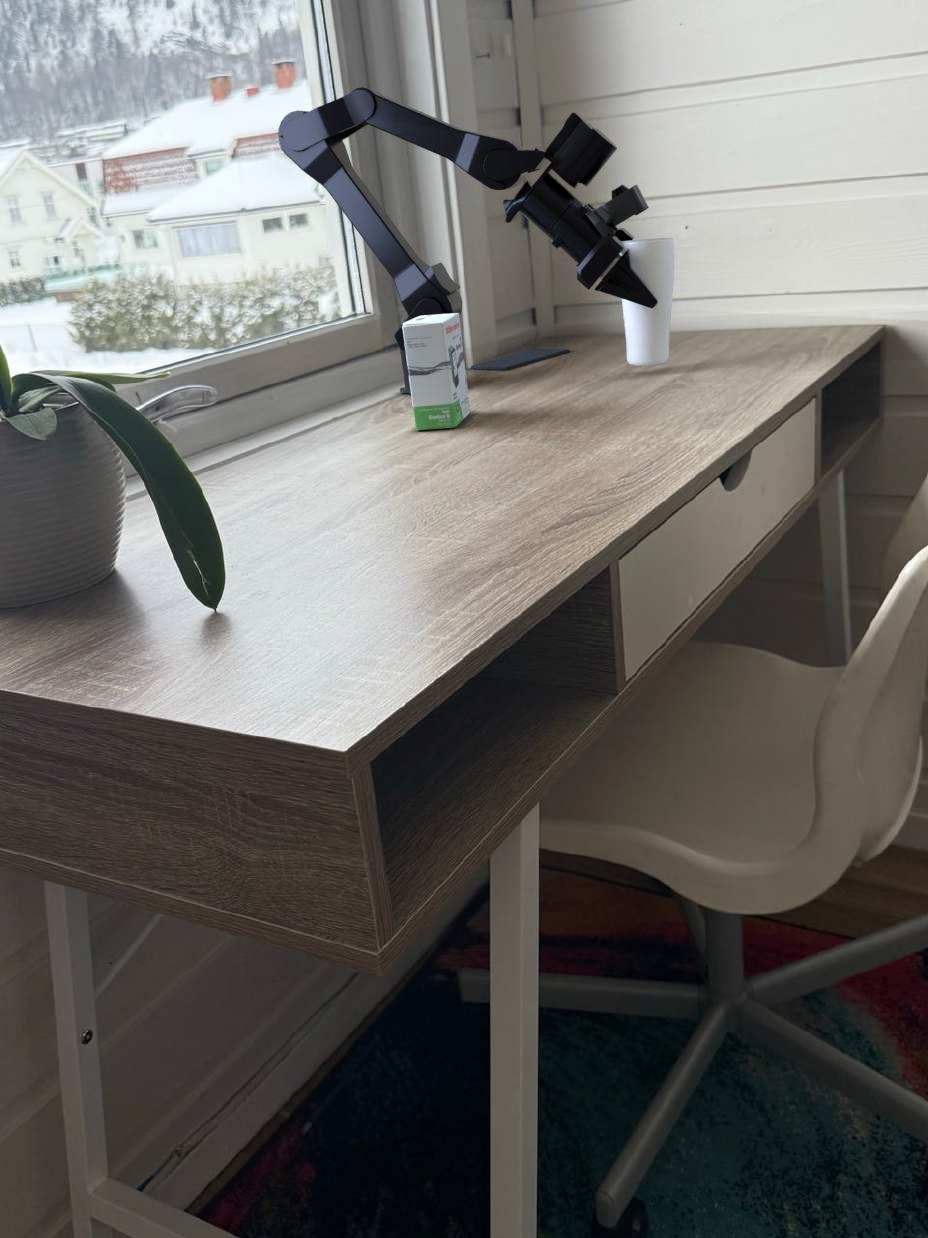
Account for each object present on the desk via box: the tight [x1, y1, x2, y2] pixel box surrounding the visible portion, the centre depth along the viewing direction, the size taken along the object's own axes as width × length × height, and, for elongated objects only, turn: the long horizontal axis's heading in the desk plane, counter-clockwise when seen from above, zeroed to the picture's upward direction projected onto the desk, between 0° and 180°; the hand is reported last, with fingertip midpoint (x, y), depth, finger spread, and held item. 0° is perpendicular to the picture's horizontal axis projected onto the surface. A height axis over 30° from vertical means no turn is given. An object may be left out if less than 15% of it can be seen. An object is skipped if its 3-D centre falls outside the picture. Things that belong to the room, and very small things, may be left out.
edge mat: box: [470, 348, 570, 371], centre depth 169 cm, size 14×7×1 cm, turn 136°
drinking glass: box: [620, 237, 675, 367], centre depth 143 cm, size 7×7×15 cm
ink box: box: [402, 313, 471, 431], centre depth 130 cm, size 9×5×12 cm, turn 168°
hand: (656, 301), depth 143 cm, fingers closed on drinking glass, 6 cm apart
